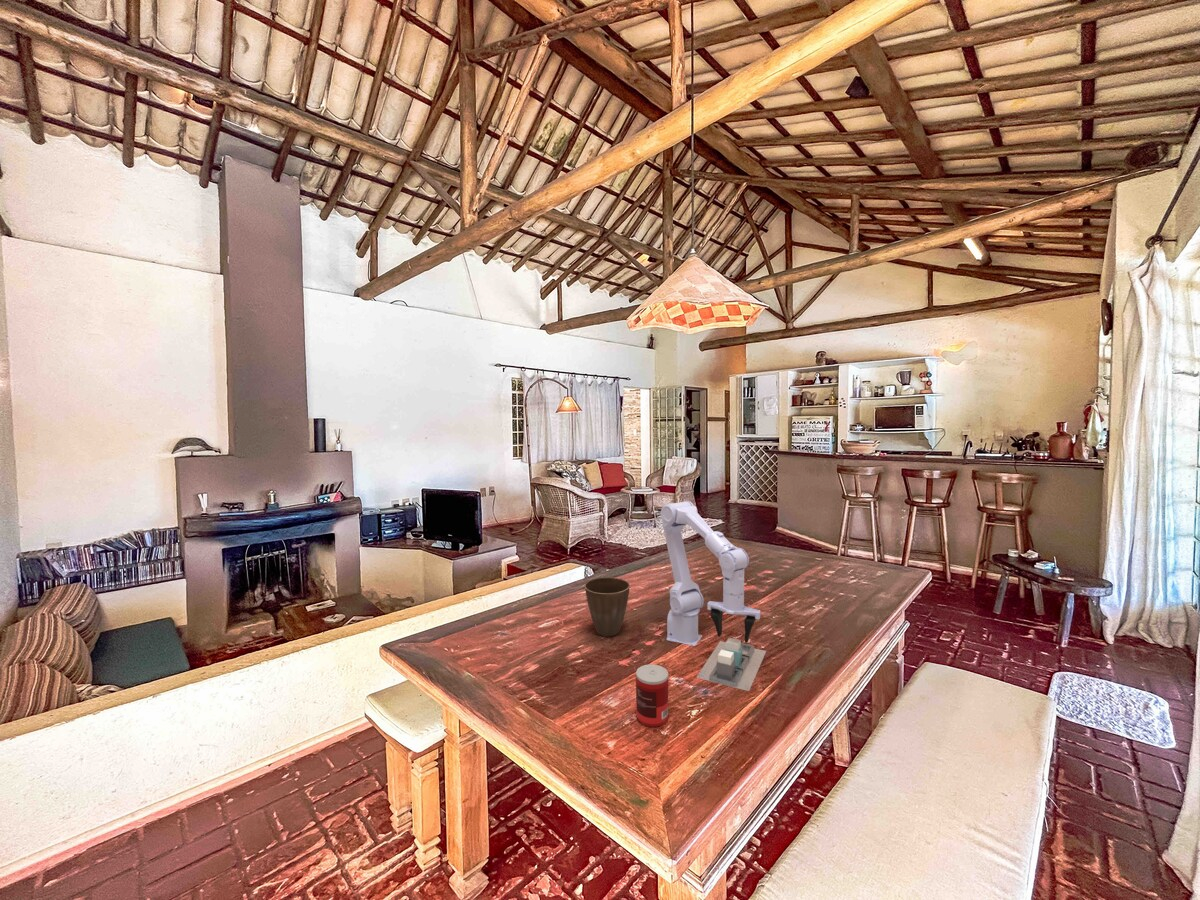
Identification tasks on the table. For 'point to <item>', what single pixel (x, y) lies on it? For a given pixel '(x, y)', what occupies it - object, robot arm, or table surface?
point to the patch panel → (742, 672)
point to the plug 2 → (726, 665)
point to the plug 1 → (735, 649)
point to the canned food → (652, 695)
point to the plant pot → (607, 603)
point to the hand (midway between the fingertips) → (733, 638)
